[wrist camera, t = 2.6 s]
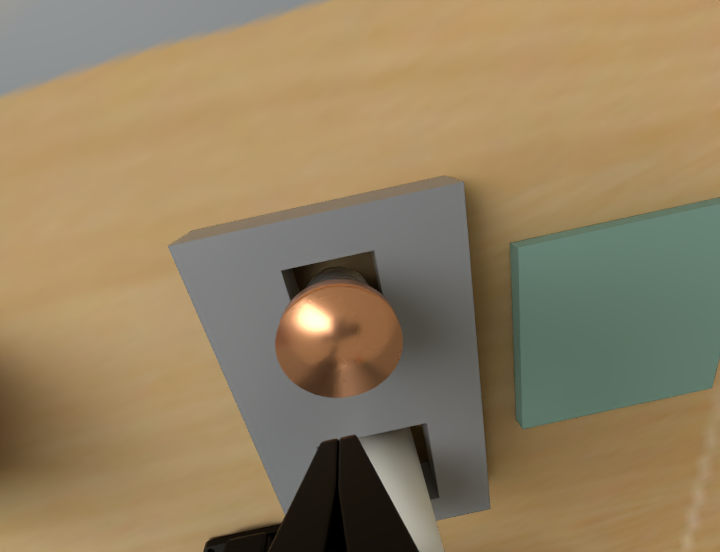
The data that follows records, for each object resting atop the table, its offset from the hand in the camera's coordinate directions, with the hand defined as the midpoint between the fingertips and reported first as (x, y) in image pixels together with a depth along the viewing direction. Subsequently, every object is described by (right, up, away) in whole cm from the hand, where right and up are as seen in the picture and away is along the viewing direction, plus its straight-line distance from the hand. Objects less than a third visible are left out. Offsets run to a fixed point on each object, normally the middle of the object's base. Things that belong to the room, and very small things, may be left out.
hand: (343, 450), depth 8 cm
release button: (-1, +3, +7) cm, 8 cm away
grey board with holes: (+1, -3, +12) cm, 12 cm away
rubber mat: (+15, +2, +12) cm, 19 cm away
